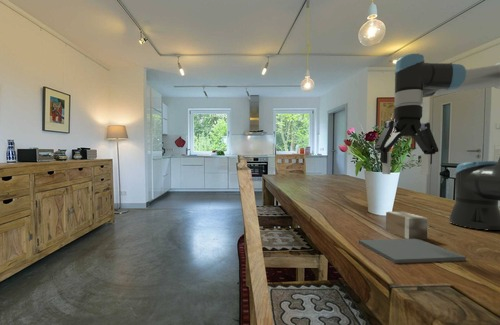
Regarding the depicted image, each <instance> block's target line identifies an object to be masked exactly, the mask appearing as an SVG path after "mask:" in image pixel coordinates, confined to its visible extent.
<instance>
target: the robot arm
mask: <svg viewBox="0 0 500 325" xmlns="http://www.w3.org/2000/svg"><path fill="white" fill-rule="evenodd" d="M395 62H396V63H395V69H394V103H393V105H394V107H395V108H394V110H393V119H394V120H392V119H391V120H389V121H388V120H387V121H385V123H384V129H383V131H382V133H381V135H380V136H379V138H378V140H377V143H376V145H375V147H374V151H377V152H378V153H380V163H381V164H382V169H381V174H382V175H391V167H392V166H391V163H392V152H389V151H390V150H391V149H392V148H393V147H394V145H395V144H396V143H397V142H398V140H399V139H400V138H401V137H406V138H408V137H409V138H411V139H413V140H414V142H415V143H416V144H417V145H418V147H419V148H420V150H421V151H422V152H423V154H421V158H420V159H421V160H420V175H422V176H431V165H432V163H433V155H435V154H436V153H438V152H439V148H438V145H437V143H436V140H435V136H434V135H433V133H432V129H431V124H430V123H431V122H428V121H427V122H423V123H421V119H422V118H423V106H422V105H423V104H424V103H423V102H424V100H423V99H424V98H429V97H433V96H440V95H446V94H447V95H448V94H454V93H455V94H456V93H461V92H467V91H476V90H483V89H490V88H494V89H498V90H499V89H500V61H499V62H497V63H495V64H494V65H488V66H482V67H476V68H475V67H474V68H469V69H466V67H465V66H464V65H463V64H460V63H458V64H457V63H453V62H449V63H447V62H446V63H444V62H443V63H437V62H436V63H433V62H425V57H424V55H423V54H420V53H409V54H405V55H402V56H401V57H399V58H398V59H397V61H395ZM394 129H395V130H394ZM393 130H394V131H393ZM499 201H500V156H499V157H498V160H497V161H495V160H480V161H467V162H461V163H459V164H458V165H457V166H456V170H455V202H454V205H453V207H452V210H451V212H450V214H449V216H448V217H449V218H448V222H449V221H450V222H452V223H454V224H457V225H461V226H466V227H471V228H478V229H488V230H500V208H499Z"/></svg>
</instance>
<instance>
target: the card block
mask: <svg viewBox="0 0 500 325" xmlns="http://www.w3.org/2000/svg"><path fill="white" fill-rule="evenodd" d="M428 219H429V218H427V217H425V216H421V215H417V214H413V213H409V212H406V211H386V212H385V231H386V230H387V232H389V233H391V234H395V235H396V236H399V237H402V238H403V239H420V240H428V226H429V225H428V224H429V222H428Z"/></svg>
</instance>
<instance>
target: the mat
mask: <svg viewBox="0 0 500 325" xmlns="http://www.w3.org/2000/svg"><path fill="white" fill-rule="evenodd" d="M358 244H360V245H361V246H363V247H365V248H367V249H369V250H371V251H372V252H374V253H376V254H377V255H379V256H381V257H383V258H384V259H386V260H389V262H392V263H394V264H408V263H410V264H411V263H429V262H430V263H432V262H435V263H437V262H456V261H458V262H459V261H467V257H466V256H465V255H462V254H460V253H457V252H455V251H452V250H449V249H446V248H444V247H441V246H439V245H436V244H432V243H430V242H427V241H425V240H424V239H406V238H392V239H391V238H388V239H387V238H386V239H385V238H384V239H383V238H382V239H359V240H358Z"/></svg>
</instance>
